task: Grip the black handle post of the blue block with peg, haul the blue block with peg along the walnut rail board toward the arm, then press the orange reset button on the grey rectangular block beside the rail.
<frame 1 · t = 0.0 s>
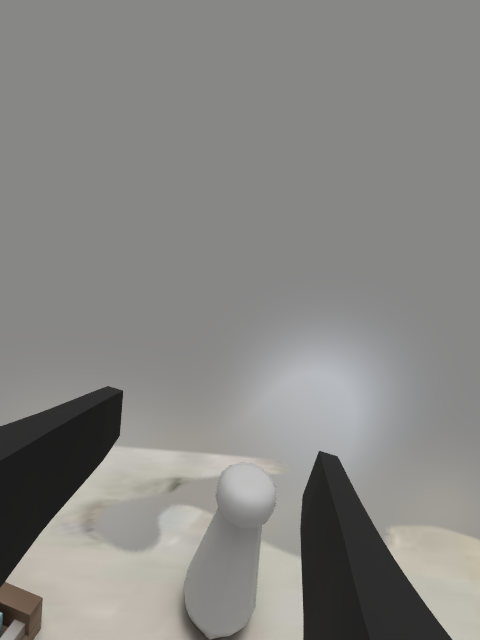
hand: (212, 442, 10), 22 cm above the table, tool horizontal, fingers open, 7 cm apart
salt shaker: (214, 609, 24), on the table
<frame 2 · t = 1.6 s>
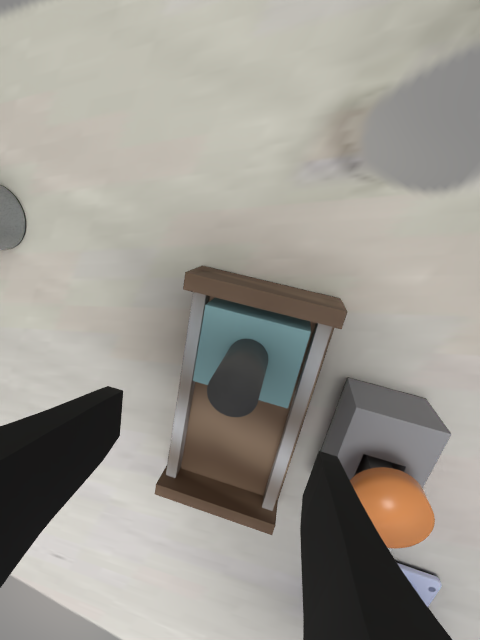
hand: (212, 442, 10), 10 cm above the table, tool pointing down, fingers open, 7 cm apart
rail board: (242, 394, 22), on the table
blue block with peg: (244, 365, 16), point 4 cm above the table, slide at 0.0 cm
reset button: (379, 484, 17), point 4 cm above the table, slide at 0.0 cm
planter: (2, 217, 22), on the table
grey rectangular block: (365, 436, 21), on the table
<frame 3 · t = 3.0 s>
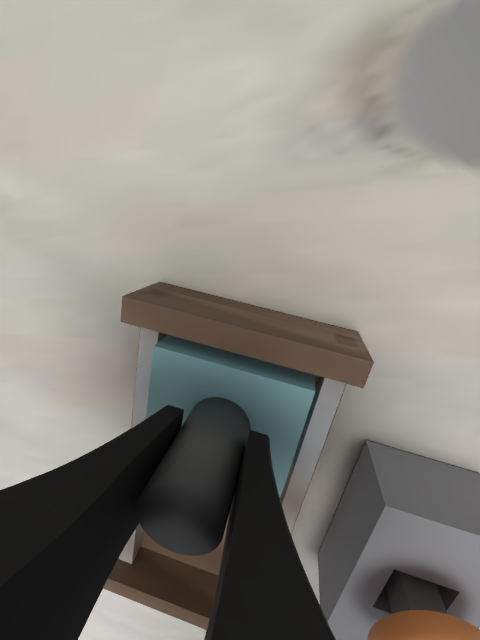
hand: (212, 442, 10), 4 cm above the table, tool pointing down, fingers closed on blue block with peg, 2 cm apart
rail board: (220, 455, 16), on the table
blue block with peg: (212, 442, 10), point 4 cm above the table, slide at 0.0 cm, touching gripper
reset button: (419, 618, 11), point 4 cm above the table, slide at 0.0 cm
grey rectangular block: (389, 518, 15), on the table
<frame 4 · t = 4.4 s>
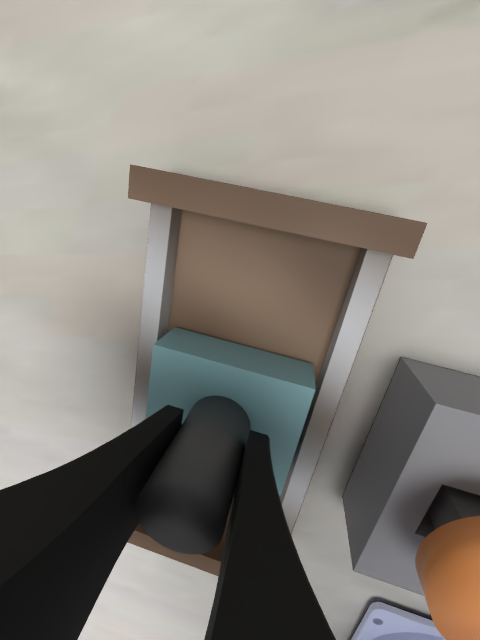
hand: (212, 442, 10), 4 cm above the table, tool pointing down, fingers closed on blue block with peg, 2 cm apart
rail board: (236, 385, 14), on the table
blue block with peg: (211, 440, 10), point 4 cm above the table, slide at 4.3 cm, touching gripper
reset button: (473, 538, 10), point 4 cm above the table, slide at 0.0 cm
grey rectangular block: (425, 449, 13), on the table
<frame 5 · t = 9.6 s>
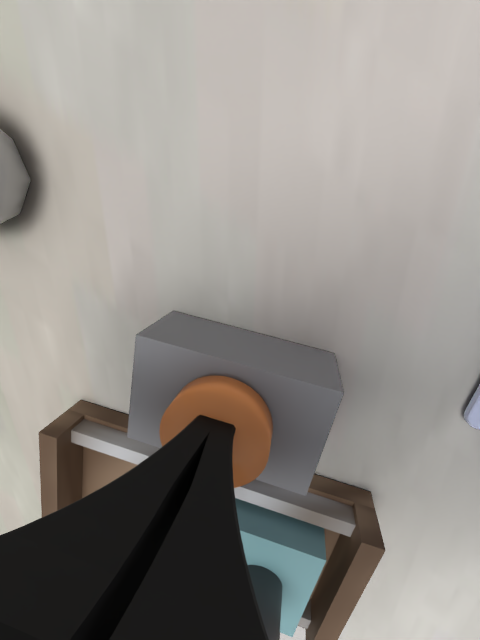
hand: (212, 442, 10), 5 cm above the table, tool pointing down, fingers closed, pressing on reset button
rail board: (203, 500, 18), on the table
blue block with peg: (254, 607, 14), point 4 cm above the table, slide at 8.4 cm
reset button: (226, 408, 12), point 3 cm above the table, slide at 1.2 cm, touching gripper
grey rectangular block: (240, 376, 15), on the table
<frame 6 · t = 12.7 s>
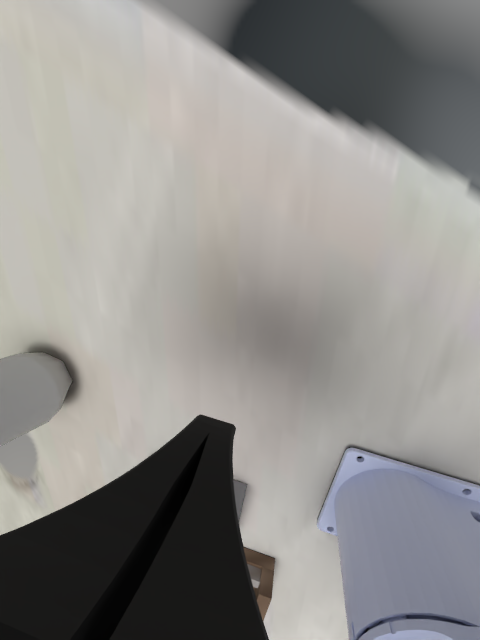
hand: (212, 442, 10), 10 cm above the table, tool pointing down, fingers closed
rail board: (177, 558, 28), on the table
salt shaker: (52, 374, 25), on the table
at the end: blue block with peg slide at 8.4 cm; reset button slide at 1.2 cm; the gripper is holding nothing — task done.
